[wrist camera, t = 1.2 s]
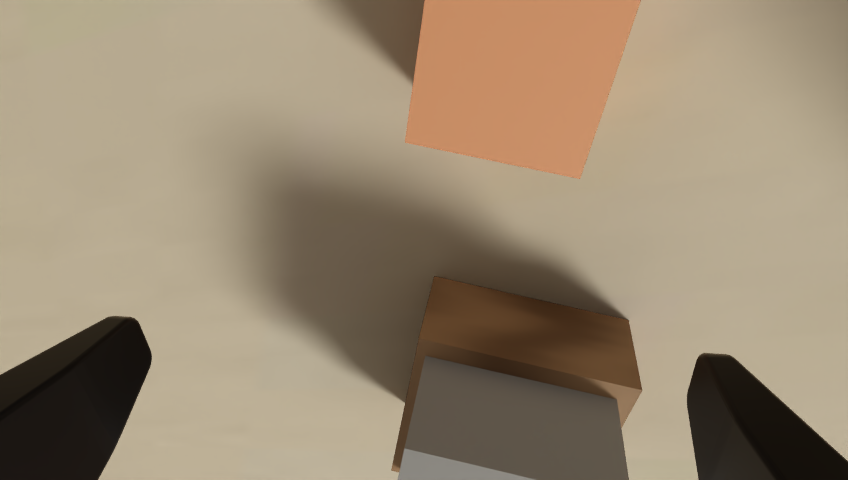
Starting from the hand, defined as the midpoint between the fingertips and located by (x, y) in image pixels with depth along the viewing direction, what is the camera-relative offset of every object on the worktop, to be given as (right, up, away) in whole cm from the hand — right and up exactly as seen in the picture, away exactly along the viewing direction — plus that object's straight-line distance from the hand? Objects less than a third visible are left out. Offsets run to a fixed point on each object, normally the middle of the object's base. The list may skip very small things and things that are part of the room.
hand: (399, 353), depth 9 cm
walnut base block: (+4, -4, +17) cm, 18 cm away
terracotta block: (+3, +8, +9) cm, 13 cm away
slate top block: (+3, -6, +14) cm, 15 cm away
